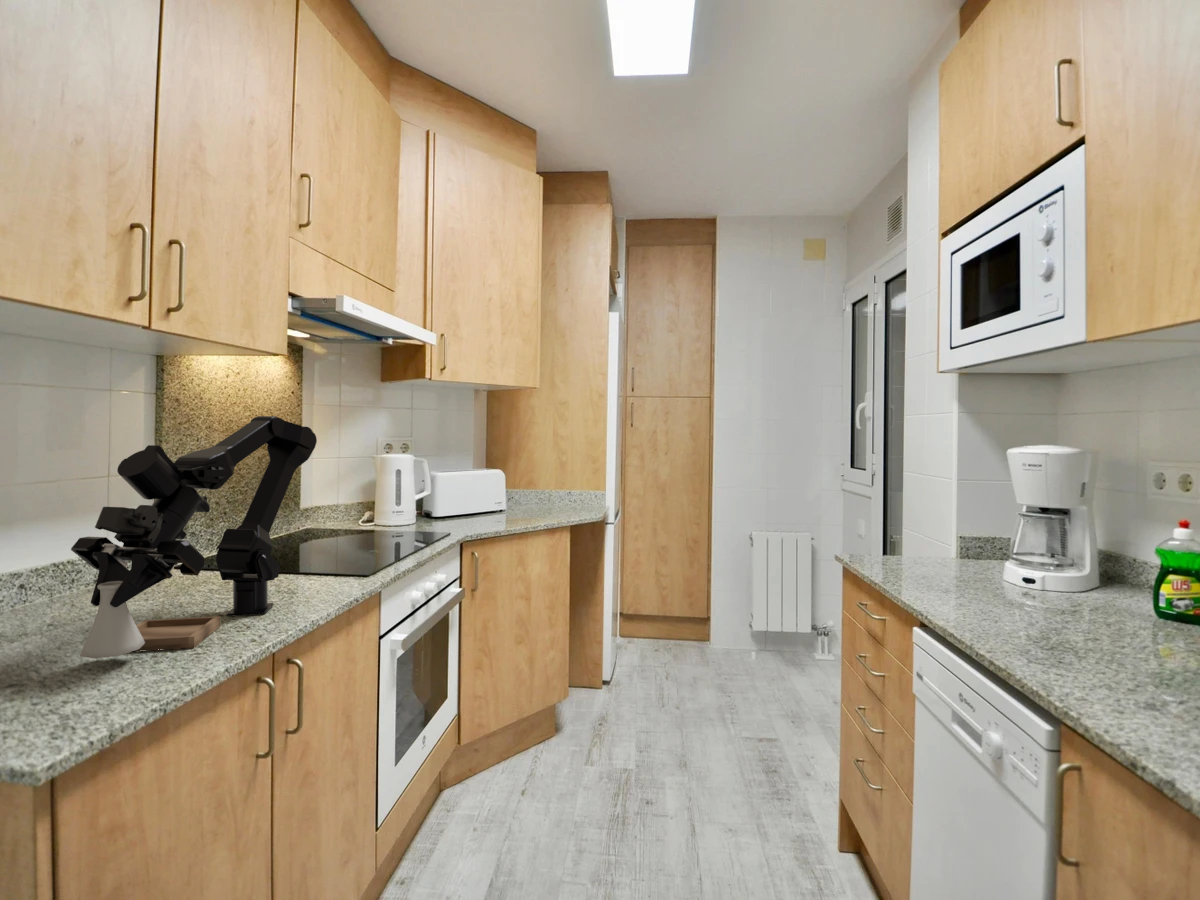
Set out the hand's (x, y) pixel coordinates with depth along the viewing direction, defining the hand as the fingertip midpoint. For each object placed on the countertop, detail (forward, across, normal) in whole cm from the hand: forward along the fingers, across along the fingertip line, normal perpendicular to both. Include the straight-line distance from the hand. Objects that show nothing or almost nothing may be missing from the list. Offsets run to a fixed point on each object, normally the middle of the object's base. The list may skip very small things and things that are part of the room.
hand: (103, 605), depth 90 cm
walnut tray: (-2, -2, +15) cm, 16 cm away
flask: (+4, 0, +6) cm, 7 cm away
